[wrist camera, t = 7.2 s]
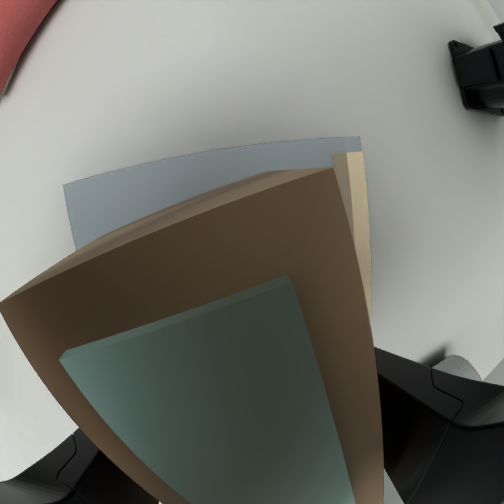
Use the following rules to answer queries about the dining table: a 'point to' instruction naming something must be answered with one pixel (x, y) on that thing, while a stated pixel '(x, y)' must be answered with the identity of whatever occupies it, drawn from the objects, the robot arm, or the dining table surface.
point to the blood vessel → (18, 30)
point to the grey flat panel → (216, 175)
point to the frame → (219, 346)
